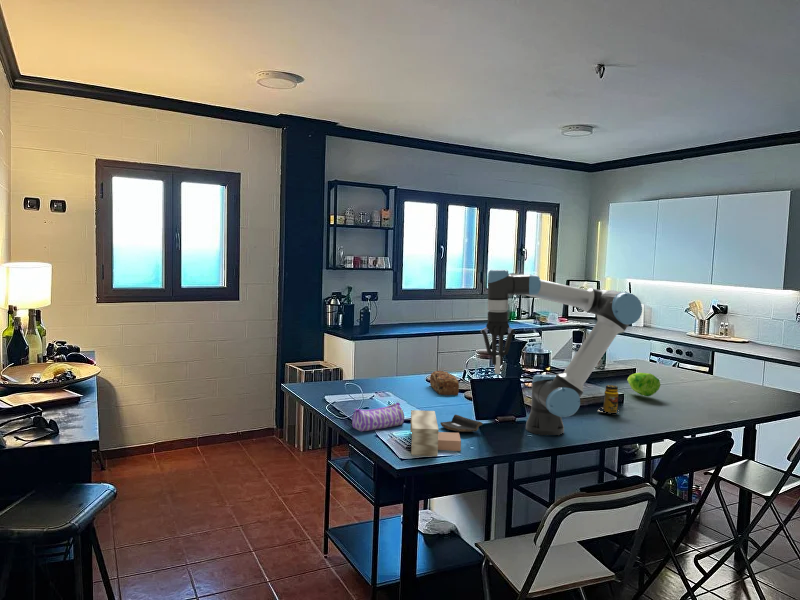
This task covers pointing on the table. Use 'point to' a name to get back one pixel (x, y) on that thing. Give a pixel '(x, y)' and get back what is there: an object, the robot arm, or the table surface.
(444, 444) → the tile
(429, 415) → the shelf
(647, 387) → the green mango
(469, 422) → the pottery fragment
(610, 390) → the condiment
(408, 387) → the table surface
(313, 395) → the table surface
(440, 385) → the bread
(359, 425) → the pencil case
